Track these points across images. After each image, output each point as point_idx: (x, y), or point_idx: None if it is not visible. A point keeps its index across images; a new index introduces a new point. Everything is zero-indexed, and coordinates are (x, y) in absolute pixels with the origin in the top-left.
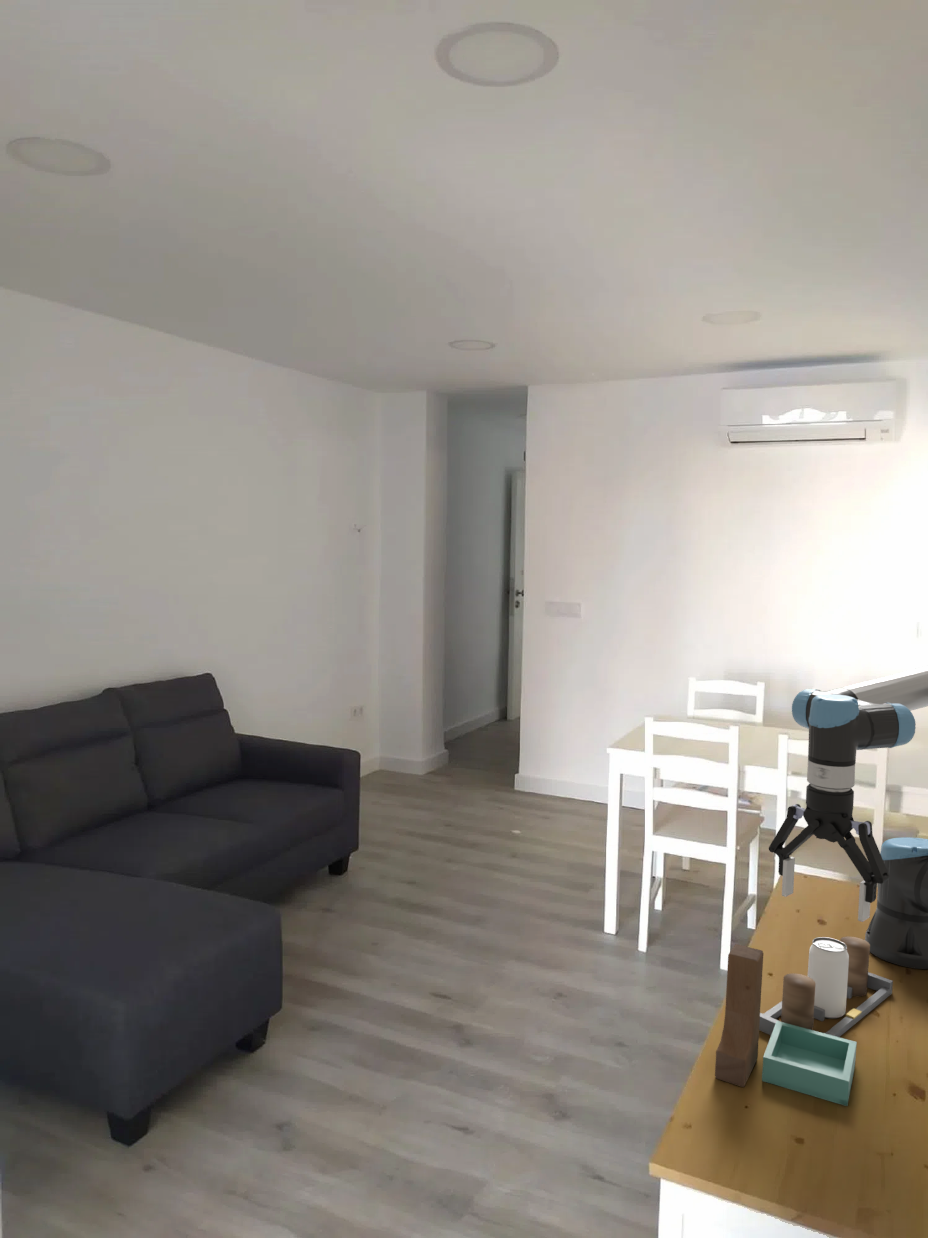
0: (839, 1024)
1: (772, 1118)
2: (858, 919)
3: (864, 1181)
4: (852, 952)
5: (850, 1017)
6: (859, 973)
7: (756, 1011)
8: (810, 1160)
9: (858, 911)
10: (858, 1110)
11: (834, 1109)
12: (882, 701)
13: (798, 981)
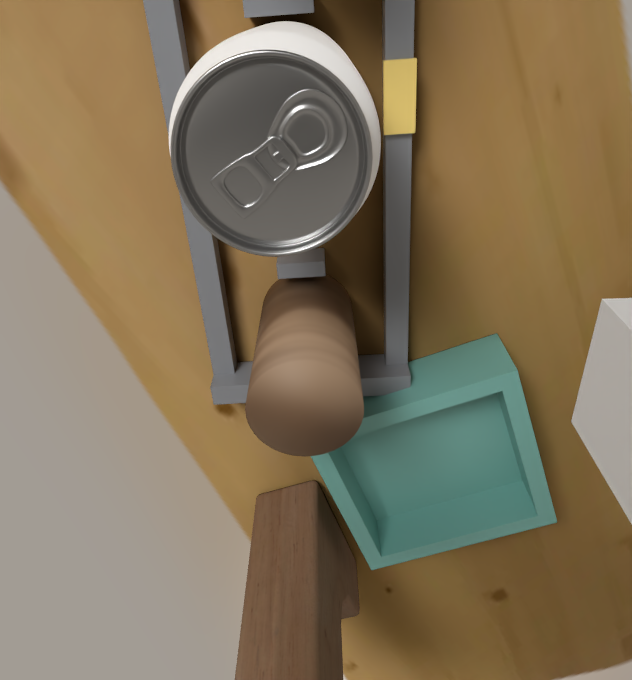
0: (394, 212)
1: (439, 584)
2: (580, 428)
3: (617, 600)
4: None
5: (400, 133)
6: None
7: (337, 639)
8: (532, 615)
9: (607, 481)
10: (558, 471)
11: None
12: None
13: (305, 417)
